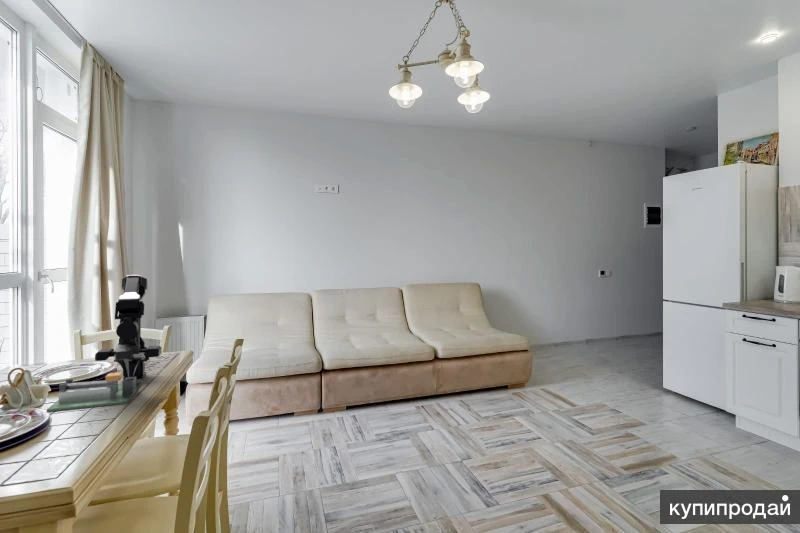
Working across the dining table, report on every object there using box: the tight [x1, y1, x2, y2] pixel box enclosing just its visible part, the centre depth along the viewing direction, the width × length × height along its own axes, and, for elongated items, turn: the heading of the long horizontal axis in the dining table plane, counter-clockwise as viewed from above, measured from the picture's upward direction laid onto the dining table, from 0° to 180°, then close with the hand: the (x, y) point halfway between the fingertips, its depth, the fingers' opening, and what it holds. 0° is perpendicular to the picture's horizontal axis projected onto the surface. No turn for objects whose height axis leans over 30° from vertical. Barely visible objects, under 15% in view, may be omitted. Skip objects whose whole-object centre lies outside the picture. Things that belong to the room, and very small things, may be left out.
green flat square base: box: [46, 376, 142, 413], centre depth 135 cm, size 21×20×6 cm
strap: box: [67, 380, 117, 388], centre depth 134 cm, size 14×4×1 cm, turn 112°
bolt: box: [104, 371, 124, 382], centre depth 137 cm, size 4×4×2 cm
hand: (129, 377), depth 139 cm, fingers closed
